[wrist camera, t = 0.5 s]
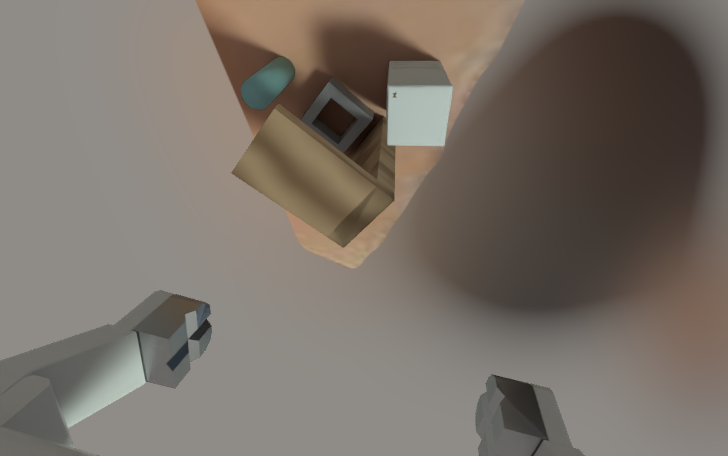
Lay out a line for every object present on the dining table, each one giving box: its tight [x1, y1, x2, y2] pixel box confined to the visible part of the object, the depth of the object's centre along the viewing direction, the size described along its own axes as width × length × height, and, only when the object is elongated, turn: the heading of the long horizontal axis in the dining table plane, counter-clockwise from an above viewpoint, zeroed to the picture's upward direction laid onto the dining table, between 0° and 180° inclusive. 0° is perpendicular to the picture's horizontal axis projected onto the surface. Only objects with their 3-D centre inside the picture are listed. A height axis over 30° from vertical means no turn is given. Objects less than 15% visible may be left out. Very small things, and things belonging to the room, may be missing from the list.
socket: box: [301, 77, 374, 153], centre depth 54 cm, size 8×8×3 cm
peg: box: [241, 57, 295, 110], centre depth 47 cm, size 4×4×12 cm
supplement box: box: [386, 61, 453, 146], centre depth 47 cm, size 7×7×13 cm
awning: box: [232, 103, 395, 248], centre depth 46 cm, size 9×15×22 cm, turn 51°
